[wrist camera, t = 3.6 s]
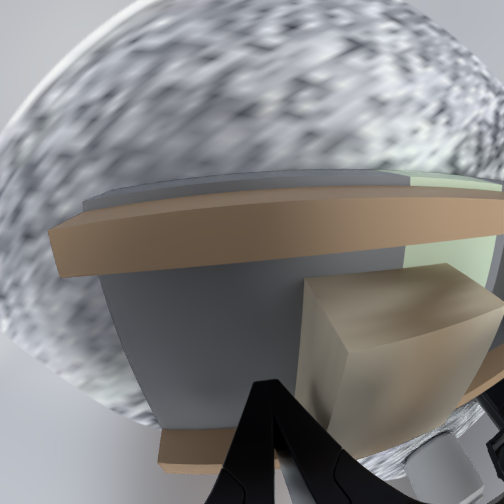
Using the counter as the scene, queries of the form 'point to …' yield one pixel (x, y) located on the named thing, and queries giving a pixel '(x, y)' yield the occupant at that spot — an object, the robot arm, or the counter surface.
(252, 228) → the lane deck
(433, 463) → the can
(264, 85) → the counter surface
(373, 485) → the robot arm
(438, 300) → the maple block
